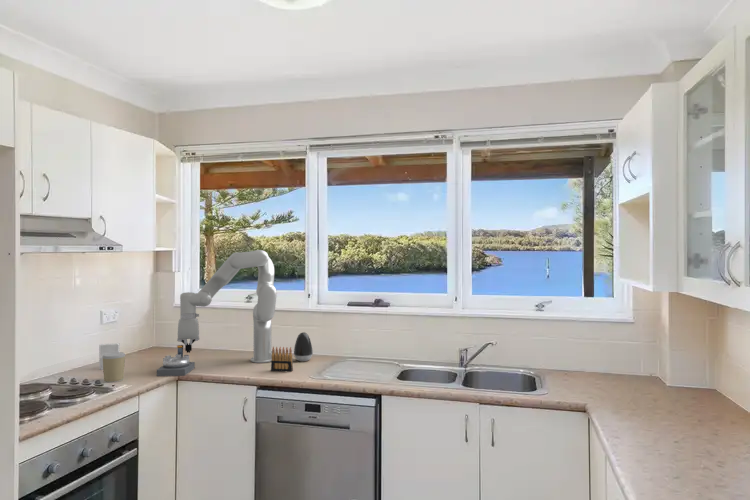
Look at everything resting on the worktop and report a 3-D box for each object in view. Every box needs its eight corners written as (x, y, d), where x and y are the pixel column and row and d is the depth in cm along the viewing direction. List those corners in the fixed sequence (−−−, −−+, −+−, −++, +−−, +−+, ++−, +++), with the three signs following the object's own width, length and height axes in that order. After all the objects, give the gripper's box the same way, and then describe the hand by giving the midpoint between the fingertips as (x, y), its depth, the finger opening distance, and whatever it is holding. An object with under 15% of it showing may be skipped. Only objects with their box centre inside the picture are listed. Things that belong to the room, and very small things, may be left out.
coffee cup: (129, 378, 228) (129, 352, 228) (113, 383, 219) (113, 356, 219) (114, 376, 231) (114, 351, 231) (97, 381, 222) (97, 355, 222)
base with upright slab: (120, 365, 255) (120, 342, 255) (117, 369, 246) (117, 345, 246) (101, 366, 252) (101, 343, 252) (97, 370, 243) (97, 346, 243)
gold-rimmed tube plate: (187, 367, 236) (187, 351, 236) (160, 368, 234) (160, 352, 234) (193, 359, 254) (193, 344, 254) (168, 360, 251) (168, 345, 251)
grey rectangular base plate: (194, 367, 249) (194, 361, 249) (184, 375, 233) (184, 368, 233) (168, 368, 248) (168, 361, 248) (156, 376, 232) (156, 369, 232)
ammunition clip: (270, 371, 243) (270, 346, 243) (272, 370, 245) (272, 346, 245) (291, 371, 241) (291, 347, 241) (292, 370, 243) (292, 346, 243)
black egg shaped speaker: (313, 358, 272) (314, 330, 272) (311, 362, 261) (311, 334, 261) (295, 358, 272) (295, 330, 272) (292, 362, 262) (292, 333, 262)
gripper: (203, 315, 258) (204, 349, 258) (173, 316, 253) (173, 351, 253) (203, 316, 251) (203, 352, 251) (171, 318, 246) (172, 354, 246)
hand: (188, 352), depth 252 cm, fingers closed
